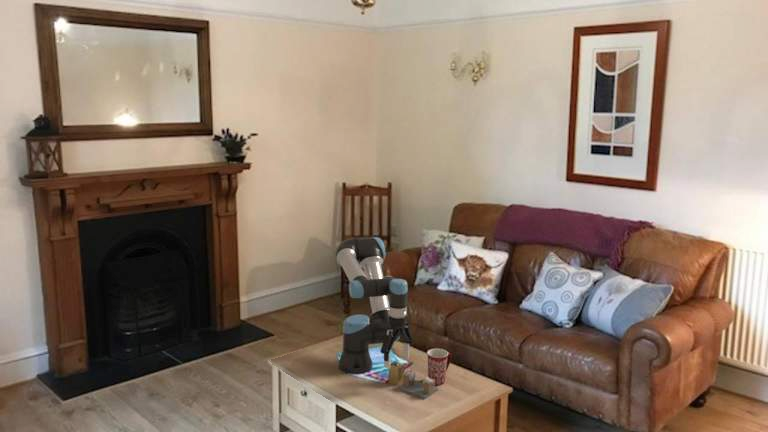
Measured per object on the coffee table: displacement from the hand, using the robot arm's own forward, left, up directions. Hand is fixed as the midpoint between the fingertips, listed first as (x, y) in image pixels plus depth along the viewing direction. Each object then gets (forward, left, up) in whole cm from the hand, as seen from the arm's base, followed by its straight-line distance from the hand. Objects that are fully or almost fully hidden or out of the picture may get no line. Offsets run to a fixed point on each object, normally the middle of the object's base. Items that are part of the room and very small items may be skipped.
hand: (396, 362), depth 274 cm
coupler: (0, 0, -9) cm, 9 cm away
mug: (+14, +13, -9) cm, 21 cm away
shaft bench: (+12, 0, -9) cm, 15 cm away
